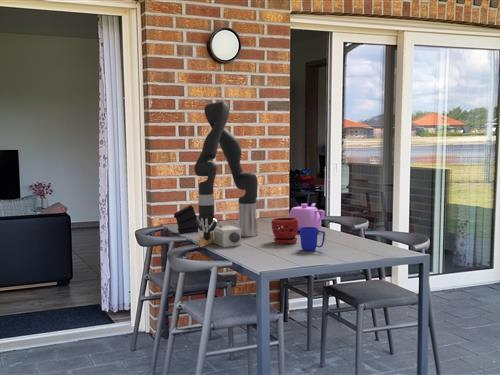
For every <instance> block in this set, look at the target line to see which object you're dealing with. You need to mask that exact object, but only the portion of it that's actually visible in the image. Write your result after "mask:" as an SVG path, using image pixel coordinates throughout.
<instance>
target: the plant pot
mask: <svg viewBox="0 0 500 375" xmlns="http://www.w3.org/2000/svg"><path fill="white" fill-rule="evenodd" d="M271 228H272V230H271V231H272V234H273V236H274V238H273V241H274V242H275V243H276V244H281V245H282V244H283V245H284V244H285V245H286V244H287V245H291V244H294V243H296V242H297V241H298V238H297V237H296V236H297V234H298V232H299V231H298V219H297V218H288V217H287V216H286V217H276V218H272V219H271Z"/></svg>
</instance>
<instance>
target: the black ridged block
mask: <svg viewBox="0 0 500 375" xmlns="http://www.w3.org/2000/svg"><path fill="white" fill-rule="evenodd" d="M194 208H195V207H194V206H193V205H192V204H189V205H188V206H185V207H184V208H182V209H180V210H178V211H177V212H175V213H173V217H174V218H175V220H176V224H177V227H178V228H177V232H178V233H179V234H191V233H193V232H195V233H199V228H198V227H197V225H196V223H195V222H194V221H195V220H197V219H198V215H197V213H196V211H195V209H194Z"/></svg>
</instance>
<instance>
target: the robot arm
mask: <svg viewBox="0 0 500 375" xmlns="http://www.w3.org/2000/svg"><path fill="white" fill-rule="evenodd" d="M229 108H230V107H229V105H228V104H227V102H224V101H218V102H212V103H211V102H210V103H207V104H206V105H205V106H204V116H205V118H206V121H207V122H208V124H209V126H210V128H211V129H210V131H209V133H207V135H206V137H205V139H204V141H203V145H202V149H201V153H200V155H199V157H198V159H197V160H196V162H195V165H194V167H193V168H194V169H193V170H194V174H195V175H196V176H197V177H207V179H206V180H204V181H200V182H199V183H198V198H197V200H198V201H197V203H198V206H197V207H198V208H197V209H198V215H197V220H195V221H194V222H195V223H196V225H197V227H198V231H200V232H201V231H202V233H203V236H204V240H209V239H210V233H211V232H214V229H215V228H216V226H219V223H220V221H219V220H217V219H216V217H215V196H214V194H215V192H214V185H215V180H216V176H217V172H218V167H217V164H216V162H214V161H212V160H215V159H216V157H217V153H218V149H219V145H220V149H221V151H222V154H223V156H224V158H225V159H226V162H227V164H228V167H229V170H230V173H231V176H232V180H233V183H234V184H235V187H236V188H237V189H238V190H241V191H245V192H244V195H243V196H240V197H239V198H238V228H240V229H241V237H255V236H258V229H259V228H258V217H257V197H258V185H259V184H258V183H259V182H258V177H257V175H256V174H255V173H253V172H244V171H243V168H242V166H241V158H242V148H241V145H240V143H239V140H238V139H237V138H236V136H235V135H233V133H231V132H230V131H229V130H227V129H226V125H227V122H228V119H229V115H230V109H229Z"/></svg>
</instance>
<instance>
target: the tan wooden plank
mask: <svg viewBox="0 0 500 375" xmlns="http://www.w3.org/2000/svg"><path fill="white" fill-rule="evenodd" d="M213 243H214V231H211V232H210V239H209V240H204V235H202V236H199V239H198V244H199V248H203V247H205V246H207V245H210V244H213Z"/></svg>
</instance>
